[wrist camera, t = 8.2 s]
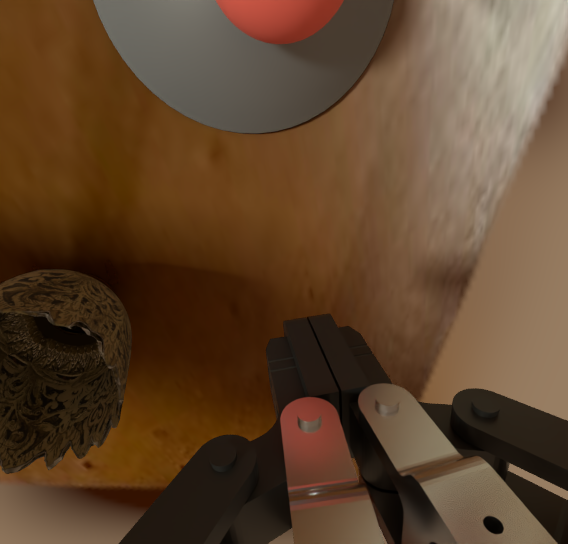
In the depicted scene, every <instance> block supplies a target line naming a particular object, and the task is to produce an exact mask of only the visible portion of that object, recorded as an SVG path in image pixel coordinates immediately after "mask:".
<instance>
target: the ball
mask: <svg viewBox="0 0 568 544" xmlns="http://www.w3.org/2000/svg"><path fill="white" fill-rule="evenodd" d="M343 1H344V0H216V2H217V4H218V5H219V7H220V8H221V10H222V11H223V13H224V14H225V15H226V17H227V18H228V19H229V20H230V21H231V22H232V23H233V24H234V25H235V26H236V27H237V28H238V29H239V30H241V31H242V32H244V33H245V34H247V35H248V36H250V37H252V38H254V39H256V40H259V41H262V42H265V43H271V44H289V43H294V42H297V41H301V40H303V39H306V38H307V37H309V36H311V35H313V34H315V33H316V32H317V31H319V30H320V29H321V28H323V27H324V26H325V25H326V24H327V23H328V22H329V21H330V20H331V18H332V17H333V16H334V15H335V13H336V12H337V11H338V9H339V8H340V6H341V4H342V3H343Z"/></svg>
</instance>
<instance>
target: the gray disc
mask: <svg viewBox="0 0 568 544" xmlns="http://www.w3.org/2000/svg"><path fill="white" fill-rule="evenodd" d="M93 1H94V4H95V6H96V9H97V12H98V14H99V17H100V19H101V21H102V23H103V25H104V27H105V29H106V31H107V33H108V35H109V37H110V39H111V41H112V42H113V44H114V46H115V47H116V49H117V50H118V52H119V53H120V55H121V57H122V58H123V60H124V61H125V62H126V63H127V65H128V66H129V67H130V69H131V70H132V71H133V72H134V74H135V75H136V76H137V77H138V78H139V79H140V80H141V81H142V82H143V83H144V84H145V85H146V86H147V87H148V88H149V89H150V90H151V91H152V92H153V93H154V94H155V95H156V96H158V97H159V98H160V99H161V100H163V101H164V102H165V103H166V104H168V105H169V106H170V107H172V108H174V109H175V110H177V111H178V112H180V113H182V114H183V115H185V116H187V117H189V118H191V119H193V120H195V121H198V122H200V123H202V124H204V125H207V126H211V127H214V128H217V129H220V130H225V131H231V132H237V133H265V132H274V131H279V130H282V129H286V128H290V127H293V126H296V125H298V124H301V123H303V122H305V121H308V120H310V119H311V118H313V117H315V116H317V115H318V114H320V113H322V112H323V111H325V110H326V109H327V108H329V107H330V106H331V105H333V104H334V103H335V102H337V101H338V100H339V99H340V98H341V97H342V96H343V95H344V94H345V93H346V92H347V91H348V90H349V89H350V88H351V87H352V86H353V84H354V83H355V82H356V81H357V79H358V78H359V77H360V76H361V74H362V73H363V72H364V70H365V69H366V67H367V65H368V64H369V62H370V60H371V59H372V57H373V56H374V54H375V52H376V50H377V48H378V45H379V43H380V41H381V39H382V37H383V35H384V32H385V29H386V26H387V23H388V20H389V17H390V15H391V10H392V6H393V2H394V0H344V1H343V3H342V4H341V6H340V8H339V9H338V11H337V12H336V13H335V15H334V16H333V17H332V18H331V20H330V21H329V22H328V23H327V24H326V25H325V26H324V27H323V28H321V29H320V30H319V31H317V32H316V33H315V34H313V35H311V36H309V37H307V38H306V39H303V40H301V41H297V42H294V43H289V44H271V43H265V42H262V41H259V40H256V39H254V38H252V37H250V36H248V35H247V34H245V33H244V32H242V31H241V30H239V29H238V28H237V27H236V26H235V25H234V24H233V23H232V22H231V21H230V20H229V19H228V18H227V17H226V15H225V14H224V13H223V11H222V10H221V8H220V7H219V5H218V4H217V2H216V0H93Z"/></svg>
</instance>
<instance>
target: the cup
mask: <svg viewBox="0 0 568 544" xmlns="http://www.w3.org/2000/svg"><path fill="white" fill-rule="evenodd" d="M131 345H132V333H131V325H130V320H129V317H128V314H127V312H126V310H125V308H124V306H123V304H122V302H121V301H120V299H119V298H118V297H117V296H116V294H115V293H114V292H113V291H112V290H111V288H110V287H109V285H108V284H107V283H106V282H104V281H103V280H102V279H100V278H99V277H97V276H94V275H92V274H89V273H83V272H75V271H71V270H63V269H46V270H38V271H33V272H29V273H25V274H22V275H19V276H16V277H14V278H11V279H9V280H7V281H4V282H2V283H0V465H1V467H2V470H3V471H4V472H5V473H6V474H9V473H14V472H18V471H20V470H22V469H23V468H25V467H27V466H28V465H30V464H31V463H32V462H34V461H35V460H36V459H38V458H40V457H44V456H45V460H44V461H45V462H46V466H47V468H48V470H50V469H52V468H53V467H54V466H56V464H57V463H58V462H60V461H61V460H62V459H63V457H64V455H65V453H66V451H67V450H68V449H69V447H70V446H71V449H72V450H73V452H74V453H75V455H76V456H77V458H79V459H81V458H83V457H84V456H85V455H86V454H87V453H88V451H89V449H90V447H91V446H93V445H94V444H95V445H96V446H97V447H98V448H99V447H100V446H101V445H102V444H103V443H104V441H105V439H106V437H107V435H108V433H109V431H110V428H111V425H112V428H116V427H117V425H118V423H119V420H120V414H121V408H122V403H123V399H124V392H125V387H126V381H127V375H128V369H129V363H130V356H131Z"/></svg>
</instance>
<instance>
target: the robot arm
mask: <svg viewBox="0 0 568 544" xmlns="http://www.w3.org/2000/svg"><path fill="white" fill-rule="evenodd" d="M283 326H284V337H280V338H274V339H270V341H269V343H268V346H267V348H266V356H267V364H268V372H269V380H270V388H271V393H272V398H273V403H274V408H275V412H276V418H277V421H276V423H275V424H274V426H273V427H272V428H271V429H270V430H269V431H268V432H267V433H265V434H264V435H262V436H260V437H259V438H257V439H255V440H253V441H251V442H250V441H248V440H247V439H246V438H244V437H241V436H238V435H223V436H219V437H216V438H214V439H212V440H210V441H208V442H207V443H205V444H204V445H203V446H202V447H201V448H200V449H199V450H198V451H197V452H196V454H195V455H194V456H193V457H192V458H191V459H190V461H189V462H188V463H187V464H186V465H185V466H184V468H183V469H182V470H181V471H180V472H179V473H178V475H177V476H176V477H175V478H174V479H173V481H172V482H171V483H170V484H169V485H168V486H167V488H166V489H165V490H164V491H163V492H162V493H161V495H160V496H159V497H158V498H157V499H156V500H155V502H154V503H153V504H152V505H151V506H150V508H149V509H148V510H147V511H146V512H145V513H144V515H143V516H142V517H141V518H140V519H139V520H138V522H137V523H136V524H135V525H134V526H133V528H132V529H131V530H130V531H129V532H128V533H127V535H126V536H125V537H124V538H123V539H122V540H121V542H120V543H119V544H268V543H269V542H270V541H272V540H274V539H275V538H277V537H278V536H280V535H282V534H283V533H285V532H286V531H288V530H289V529H291V528H292V529H293V538H294V544H384V541H383V537H382V535H381V531H382V534H383V536H384V538H385V540H386V542H387V544H568V500H566V499H564V498H562V497H560V496H558V495H556V494H554V493H552V492H550V491H548V490H546V489H544V488H542V487H540V486H538V485H536V484H534V483H532V482H530V481H528V480H526V479H524V478H522V477H520V476H518V475H516V474H514V473H511V472H510V471H508V468H509V463H511V464H513V465H515V466H517V467H519V468H521V469H523V470H525V471H527V472H529V473H532V474H534V475H536V476H538V477H540V478H542V479H544V480H546V481H548V482H550V483H552V484H554V485H556V486H558V487H560V488H563V489H565V490H567V491H568V421H567V420H564V419H561V418H559V417H556V416H553V415H551V414H549V413H546V412H543V411H541V410H538V409H535V408H533V407H530V406H528V405H525V404H523V403H520V402H518V401H515V400H513V399H510V398H507V397H505V396H502V395H500V394H497V393H495V392H492V391H488V390H484V389H466V390H463V391H460V392H459V393H457V394H456V395H455V397H454V398H453V403H452V405H445V404H430V403H422V402H418V401H416V399H415V398H414V397H413V396H412V395H411V394H410V393H409V392H408V391H407V390H405V389H403V388H401V387H399V386H396V385H393V384H392V382H391V381H390V379H389V378H388V376H387V375H386V373H385V371H384V370H383V368H382V367H381V365H380V364H379V362H378V361H377V359H376V357H375V356H374V354H372V351H371V350H370V348H369V347H368V346H367V343H366V342H365V340H364V339H363V337H362V336H361V334H360V333H358V332H357V331H355V330H354V329H352V328H351V327H349V326H346V327H340V328H338V327H337V325H336V323H335V322H334V320H333V318H332V316H331V315H330V314H323V315H317V316H311V317H307V318H306V317H305V318H299V319H293V320H287V321H284V322H283ZM351 458H355V460H356V463H357V465H358V478H359V482H358V479H357V475H356V472H355V469H354V465H353V462H352V459H351ZM379 527H380V528H379ZM380 530H381V531H380Z"/></svg>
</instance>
